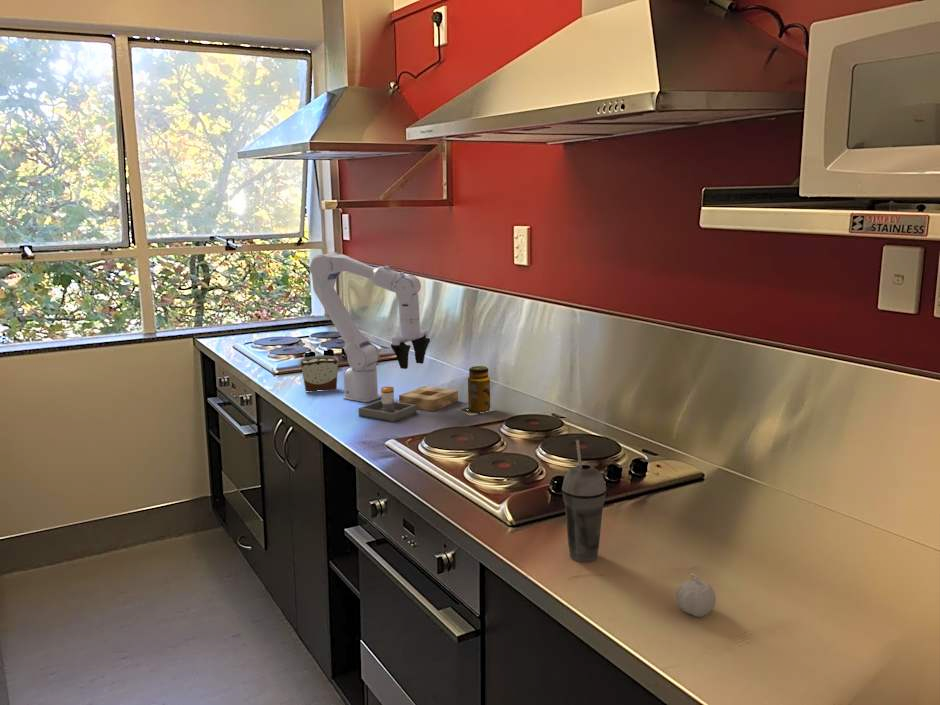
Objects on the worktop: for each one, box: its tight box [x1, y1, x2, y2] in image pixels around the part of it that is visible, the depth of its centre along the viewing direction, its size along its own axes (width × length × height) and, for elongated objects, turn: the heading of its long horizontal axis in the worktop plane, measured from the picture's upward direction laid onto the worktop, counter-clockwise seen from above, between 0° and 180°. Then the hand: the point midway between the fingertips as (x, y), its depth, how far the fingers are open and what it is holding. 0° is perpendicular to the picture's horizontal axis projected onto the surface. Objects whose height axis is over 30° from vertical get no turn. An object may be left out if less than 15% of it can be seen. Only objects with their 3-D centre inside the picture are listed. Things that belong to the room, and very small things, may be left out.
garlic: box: [675, 572, 717, 618], centre depth 114 cm, size 6×5×5 cm
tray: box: [358, 399, 418, 423], centre depth 218 cm, size 12×10×2 cm
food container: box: [298, 355, 341, 392], centre depth 248 cm, size 12×6×10 cm, turn 108°
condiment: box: [456, 365, 491, 417], centre depth 220 cm, size 7×8×12 cm
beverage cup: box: [561, 439, 608, 563], centre depth 130 cm, size 7×7×20 cm
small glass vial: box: [380, 386, 395, 413], centre depth 218 cm, size 3×3×7 cm
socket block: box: [398, 385, 459, 412], centre depth 229 cm, size 12×12×3 cm
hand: (412, 365), depth 230 cm, fingers open, 7 cm apart
